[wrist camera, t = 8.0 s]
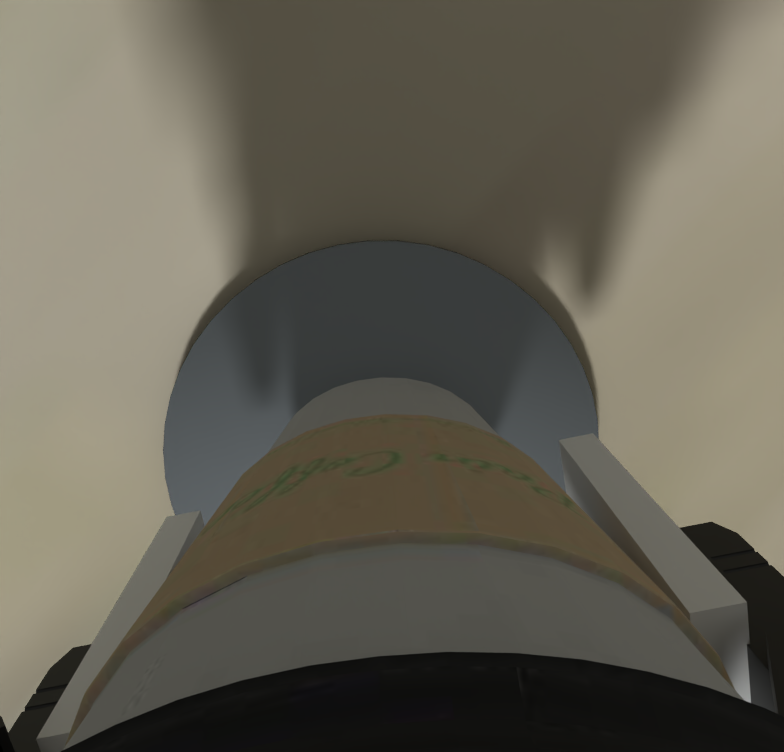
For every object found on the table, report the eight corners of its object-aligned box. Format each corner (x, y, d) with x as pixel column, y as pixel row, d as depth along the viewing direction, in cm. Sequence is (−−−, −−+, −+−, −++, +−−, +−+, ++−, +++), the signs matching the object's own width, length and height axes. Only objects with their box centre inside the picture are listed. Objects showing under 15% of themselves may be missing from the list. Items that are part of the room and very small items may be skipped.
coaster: (228, 672, 22) (225, 685, 22) (115, 289, 19) (107, 292, 18) (614, 596, 22) (621, 608, 21) (563, 199, 19) (569, 199, 18)
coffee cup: (472, 233, 17) (1209, 575, 2) (628, 557, 19) (1487, 1776, 4) (122, 417, 17) (-1059, 1561, 3) (312, 706, 20) (171, 2141, 5)
